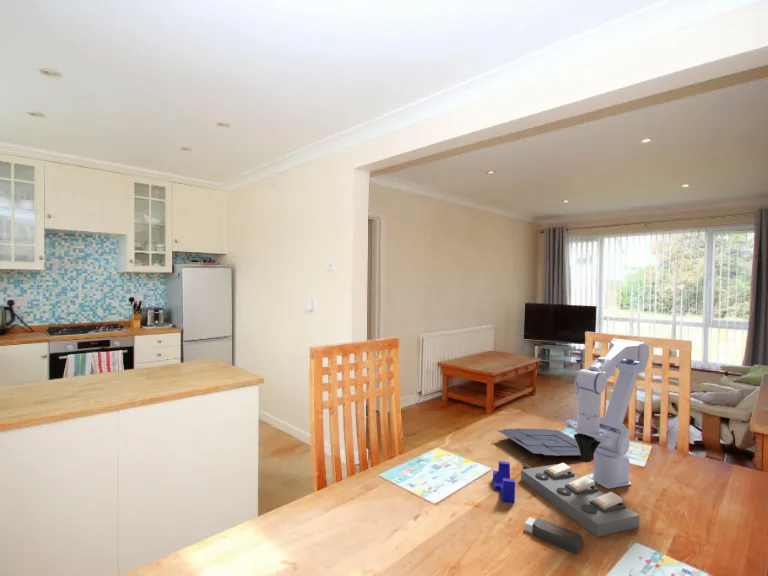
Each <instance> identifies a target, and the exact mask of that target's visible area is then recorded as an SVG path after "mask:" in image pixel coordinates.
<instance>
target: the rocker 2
mask: <svg viewBox="0 0 768 576" xmlns="http://www.w3.org/2000/svg"><path fill="white" fill-rule="evenodd" d="M593 500H594V503H595V504H597V505H598V506H600V507H601V508H603V509H607V508H609V507H611V506H614V505H616V504H618V503H623V497H621V496H620V495H618V494H616V492H615V493H614V492H613V491H609V492H607V493H604V495H602V496H599V497H597V498H594V499H593Z"/></svg>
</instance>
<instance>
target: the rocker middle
mask: <svg viewBox="0 0 768 576" xmlns="http://www.w3.org/2000/svg"><path fill="white" fill-rule="evenodd" d="M578 478H579V479H577V480H575V481H572V482H570V483H568V484H569V486H570V487H571V488H573V489H574V490H576V491H577V492H578V491H582V490H585V489H587V488H589V487H591V486H593V485H594V486H595V485H596V482H595V481H594V480H592V479H591V478H589V477H587V476H586V475H583V476H581V477H578Z"/></svg>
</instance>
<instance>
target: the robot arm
mask: <svg viewBox="0 0 768 576" xmlns="http://www.w3.org/2000/svg"><path fill="white" fill-rule="evenodd" d="M649 358H650V347H649V344H648V343H647V342H646V341H636V340H626V339H621V338H616V337H614V338H612V340H611V341H610V342H609V345H608V352H606V354H605V355H604V356H599V357H597V358H596V359H595V360H594V361H593V362H592V363H591V364H590V365H588V367H586V368H585V369H584V368H582V369H579V370H578V371H576V373H575V376H574V380H573V381H574V382H573V383H574V384H573V385H574V386H575V394H576V396H577V410H576V412H577V413H576V421H575V420H573V419H565V427H566V428H567V429H568V428H569V429H572V430H574V432H576V433H575V434H573V438H574V439H575V440H576V442H577V444H578V447H579V450H580V454H581V455H580V459H581V461H582V462H584V463H585V464H587V463H591V462H592V459H593V466H592V468H593V470H592V473H589V474H586V475H585V476H587V477H589V478H591V479H592V480H594V481H595V484H598V485H600V486H601V487H604V488H605V489H607V490H610V489H615V488H621V487H626V486H631V485H632V482H631V481H629V480H630V458H629V456H628V455H627V453H628V450H629V447H630V441H631V439H630V438H631V433H630V430H629V429H628V428H627V426H626V425H625V424H624V420H625V417H626V414H627V411H628V408H629V404H630V400H631V398H632V395H633V391H634V388H635V385H636V381H637V379H638V376H639V374H640V373H643V372H645V371H646V368H647V365H648V362H649ZM616 369H617V370H618V371H619V372H618V376H617V378H616V381H615V385H614V387H613V391H612V393H611V396H610V399H609V402H608V406H607V408H606V411H605V415H604V416H603V417H601V403H602V401H601V399H602V393H603V392H604V391H605V389H606V385H608V381H609V379H610V378H611V377H612V376H613V375H614V374H615V372H616ZM593 454H594V456H593Z"/></svg>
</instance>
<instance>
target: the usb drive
mask: <svg viewBox="0 0 768 576" xmlns="http://www.w3.org/2000/svg"><path fill="white" fill-rule="evenodd" d="M523 531H526V532H529V533H530V534H531V535H533V536H534V537H535V538H537V539H538V540H541V541H543V542H546V543H548V544H551V545H553V546H555V547H556V548H559V549H563V550H564V551H567V552H570V553H571V554H574V555H578V553H579V552H580V549H582V546H583V544H584V538H583V536H582V535H581V534H580V533H578V532H576V531H574V530H571V529H569V528H567V527H564V526H561V525H559V524H556V523H555V522H551V521H548V520H547V519H544V518H540V517H536V518H533V517H531V516H529V517H528V518H527V519H526V521H524V529H523Z"/></svg>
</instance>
